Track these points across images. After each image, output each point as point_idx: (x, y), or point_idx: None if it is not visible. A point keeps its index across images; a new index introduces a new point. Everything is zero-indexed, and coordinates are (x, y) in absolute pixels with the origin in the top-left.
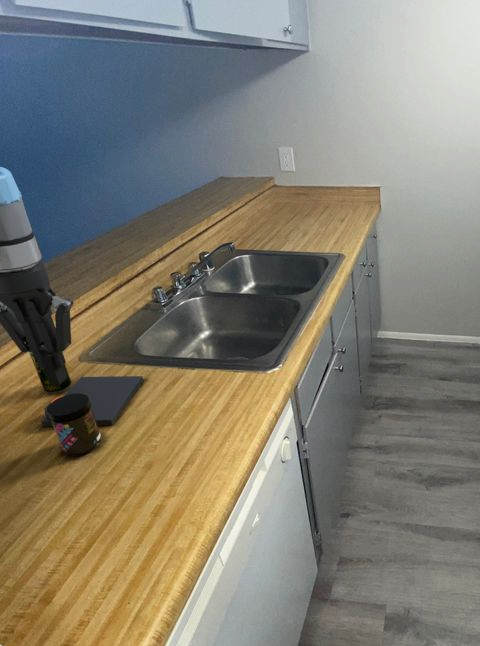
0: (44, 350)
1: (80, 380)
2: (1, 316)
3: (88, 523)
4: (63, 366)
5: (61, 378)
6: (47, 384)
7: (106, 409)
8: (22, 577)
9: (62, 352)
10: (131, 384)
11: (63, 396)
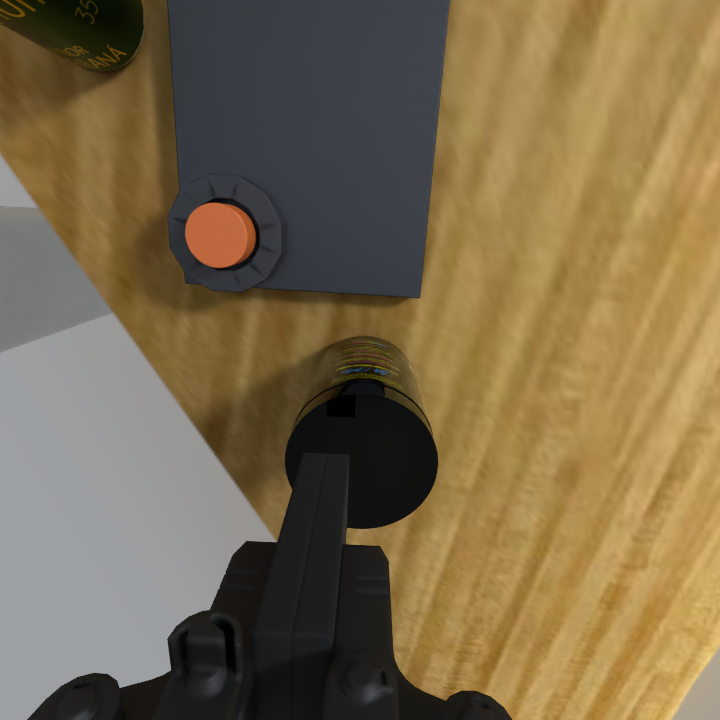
0: (251, 688)
1: None
2: None
3: (475, 610)
4: None
5: (346, 511)
6: (68, 55)
7: (381, 235)
8: None
9: (391, 634)
10: (423, 50)
11: (314, 410)
